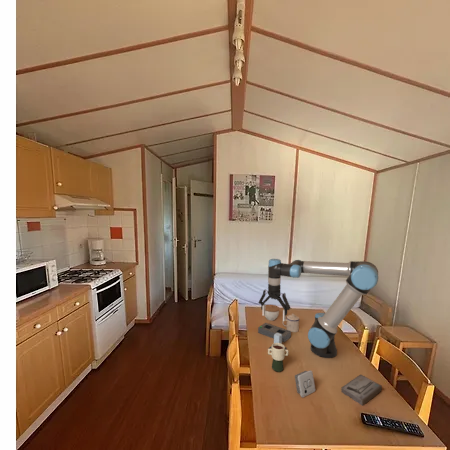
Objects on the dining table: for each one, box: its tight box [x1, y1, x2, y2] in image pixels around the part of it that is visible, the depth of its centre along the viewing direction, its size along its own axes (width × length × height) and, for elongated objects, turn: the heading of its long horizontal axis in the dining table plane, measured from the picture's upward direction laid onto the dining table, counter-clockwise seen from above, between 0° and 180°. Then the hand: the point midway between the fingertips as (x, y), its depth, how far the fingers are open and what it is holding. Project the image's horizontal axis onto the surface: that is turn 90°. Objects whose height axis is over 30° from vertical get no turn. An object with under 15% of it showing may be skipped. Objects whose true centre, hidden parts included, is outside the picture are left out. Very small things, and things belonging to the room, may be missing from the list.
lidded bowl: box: [264, 304, 280, 321], centre depth 204 cm, size 13×13×11 cm
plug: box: [273, 333, 283, 344], centre depth 158 cm, size 4×4×10 cm
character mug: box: [267, 342, 289, 373], centre depth 139 cm, size 11×7×13 cm, turn 86°
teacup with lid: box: [282, 313, 300, 333], centre depth 186 cm, size 12×9×12 cm
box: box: [340, 374, 383, 407], centre depth 124 cm, size 11×17×3 cm, turn 123°
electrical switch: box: [294, 370, 316, 398], centre depth 123 cm, size 9×5×9 cm, turn 121°
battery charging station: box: [257, 322, 292, 343], centre depth 178 cm, size 20×10×5 cm, turn 51°
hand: (273, 317), depth 160 cm, fingers open, 13 cm apart
